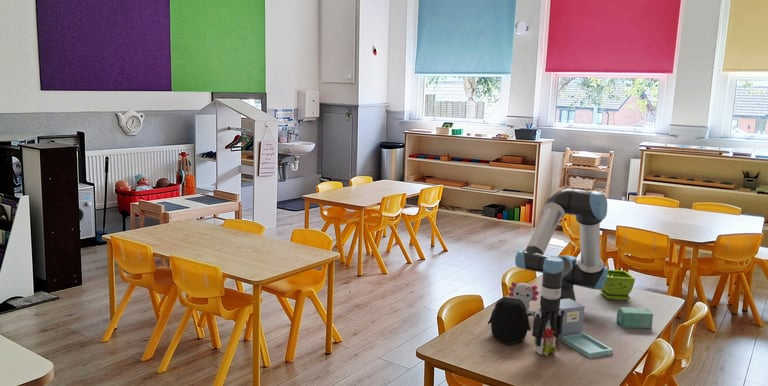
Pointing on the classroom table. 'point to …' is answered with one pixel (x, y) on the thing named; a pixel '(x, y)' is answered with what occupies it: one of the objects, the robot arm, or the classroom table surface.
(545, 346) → the bird rattle
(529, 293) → the toy
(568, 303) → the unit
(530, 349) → the classroom table surface
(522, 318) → the penguin
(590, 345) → the tray
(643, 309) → the box
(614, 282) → the flower pot
